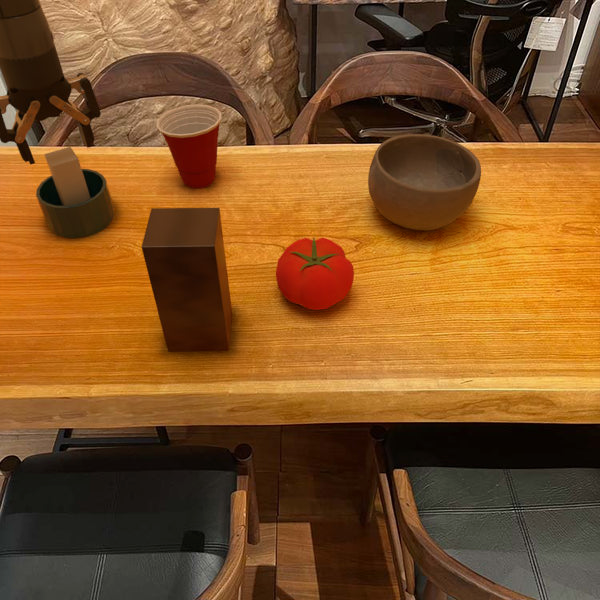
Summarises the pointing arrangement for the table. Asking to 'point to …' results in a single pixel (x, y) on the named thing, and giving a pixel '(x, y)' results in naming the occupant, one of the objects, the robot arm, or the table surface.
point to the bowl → (423, 180)
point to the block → (68, 176)
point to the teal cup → (77, 208)
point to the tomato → (314, 273)
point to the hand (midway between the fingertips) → (60, 153)
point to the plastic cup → (192, 142)
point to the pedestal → (189, 277)
